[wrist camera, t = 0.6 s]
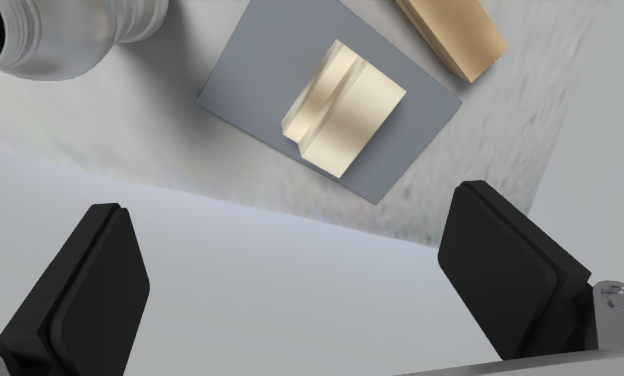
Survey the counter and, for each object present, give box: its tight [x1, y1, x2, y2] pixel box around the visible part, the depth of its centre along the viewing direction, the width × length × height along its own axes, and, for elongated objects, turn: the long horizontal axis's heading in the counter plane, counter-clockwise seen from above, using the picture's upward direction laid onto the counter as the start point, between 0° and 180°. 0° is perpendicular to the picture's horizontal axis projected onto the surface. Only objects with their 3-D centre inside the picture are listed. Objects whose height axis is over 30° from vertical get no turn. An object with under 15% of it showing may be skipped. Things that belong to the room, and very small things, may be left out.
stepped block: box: [281, 39, 407, 178], centre depth 31 cm, size 9×7×6 cm
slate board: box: [195, 0, 463, 204], centre depth 34 cm, size 14×22×1 cm, turn 55°
